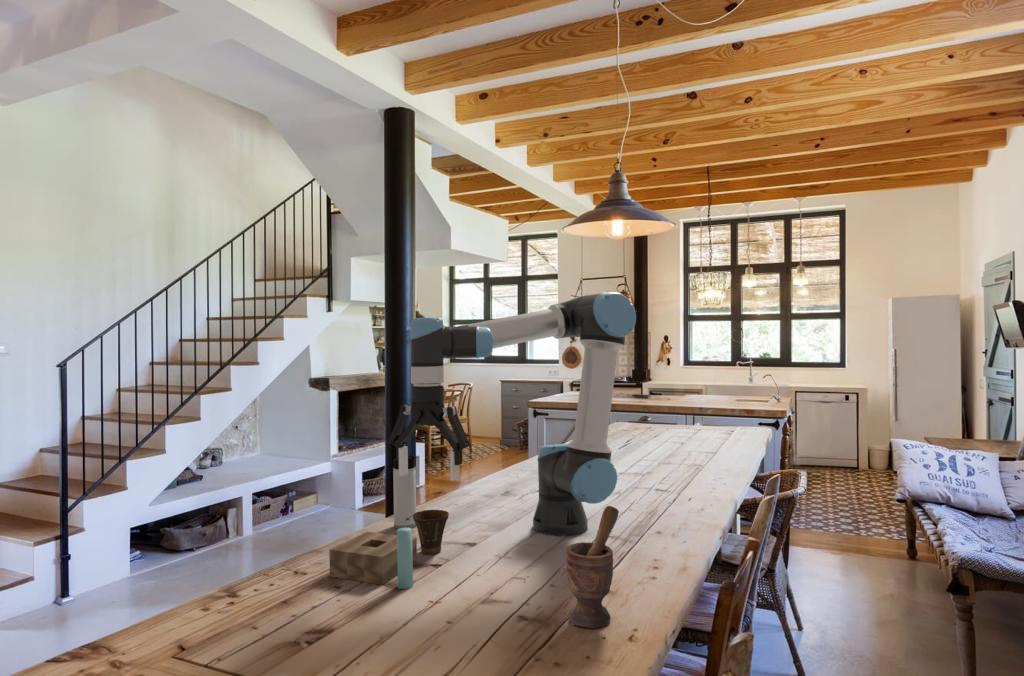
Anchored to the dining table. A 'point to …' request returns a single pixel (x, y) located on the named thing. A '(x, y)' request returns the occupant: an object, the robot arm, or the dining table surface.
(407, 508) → the travel mug
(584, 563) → the mortar and pestle
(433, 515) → the cup
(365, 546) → the socket block
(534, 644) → the dining table surface
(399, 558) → the dowel
